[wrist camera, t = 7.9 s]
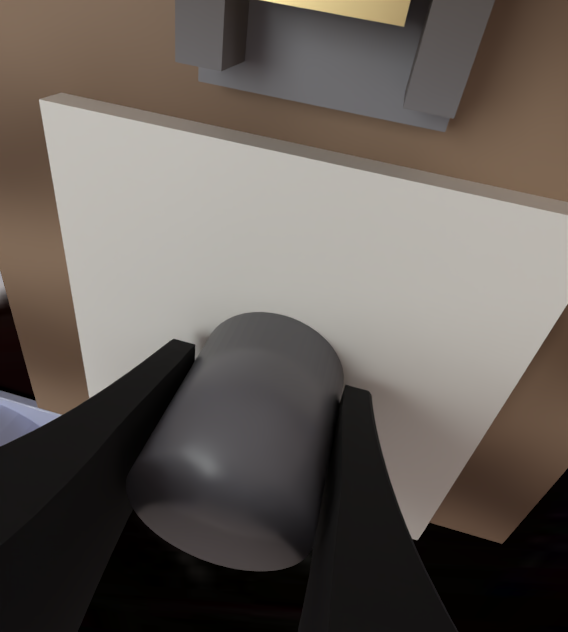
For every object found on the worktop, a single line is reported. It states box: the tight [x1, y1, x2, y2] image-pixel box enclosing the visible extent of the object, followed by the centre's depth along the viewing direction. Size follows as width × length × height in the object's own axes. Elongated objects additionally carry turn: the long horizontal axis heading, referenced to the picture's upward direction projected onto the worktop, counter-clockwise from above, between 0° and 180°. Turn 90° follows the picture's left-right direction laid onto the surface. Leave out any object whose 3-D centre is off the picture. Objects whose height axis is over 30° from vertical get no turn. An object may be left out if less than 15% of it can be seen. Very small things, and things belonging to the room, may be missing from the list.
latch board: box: [0, 0, 568, 544], centre depth 11 cm, size 20×18×3 cm
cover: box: [39, 93, 568, 571], centre depth 11 cm, size 12×12×5 cm
